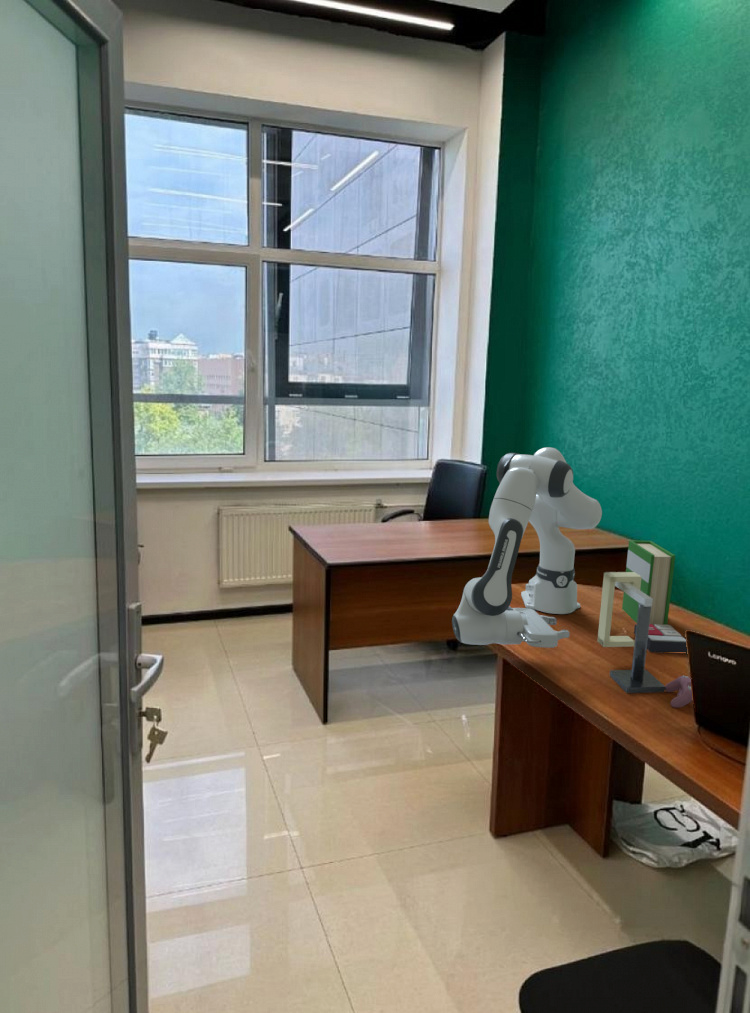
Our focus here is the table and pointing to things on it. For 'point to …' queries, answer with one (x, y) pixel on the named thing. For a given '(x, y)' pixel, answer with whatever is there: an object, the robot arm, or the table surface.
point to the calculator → (664, 639)
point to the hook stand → (638, 648)
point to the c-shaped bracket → (607, 608)
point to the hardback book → (650, 579)
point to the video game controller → (680, 691)
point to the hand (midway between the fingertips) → (562, 627)
